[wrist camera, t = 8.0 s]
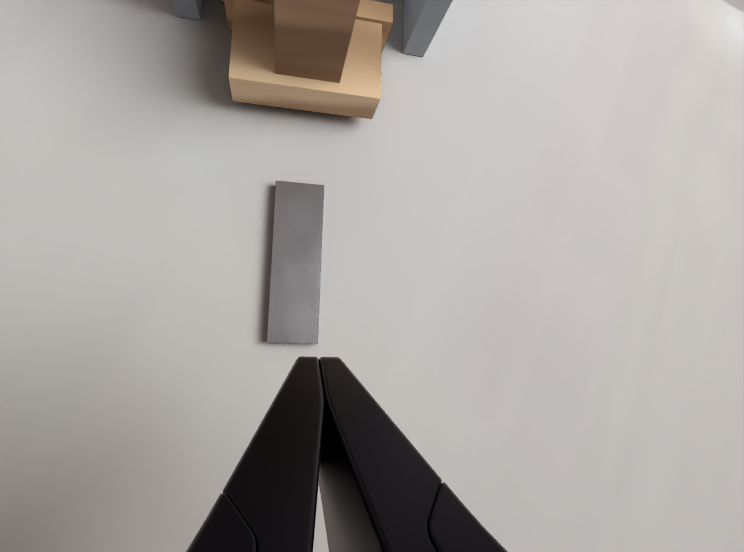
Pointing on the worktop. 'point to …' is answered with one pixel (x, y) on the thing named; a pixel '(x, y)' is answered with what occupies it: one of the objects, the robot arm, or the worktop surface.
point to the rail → (296, 263)
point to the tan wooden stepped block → (308, 53)
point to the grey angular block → (421, 20)
